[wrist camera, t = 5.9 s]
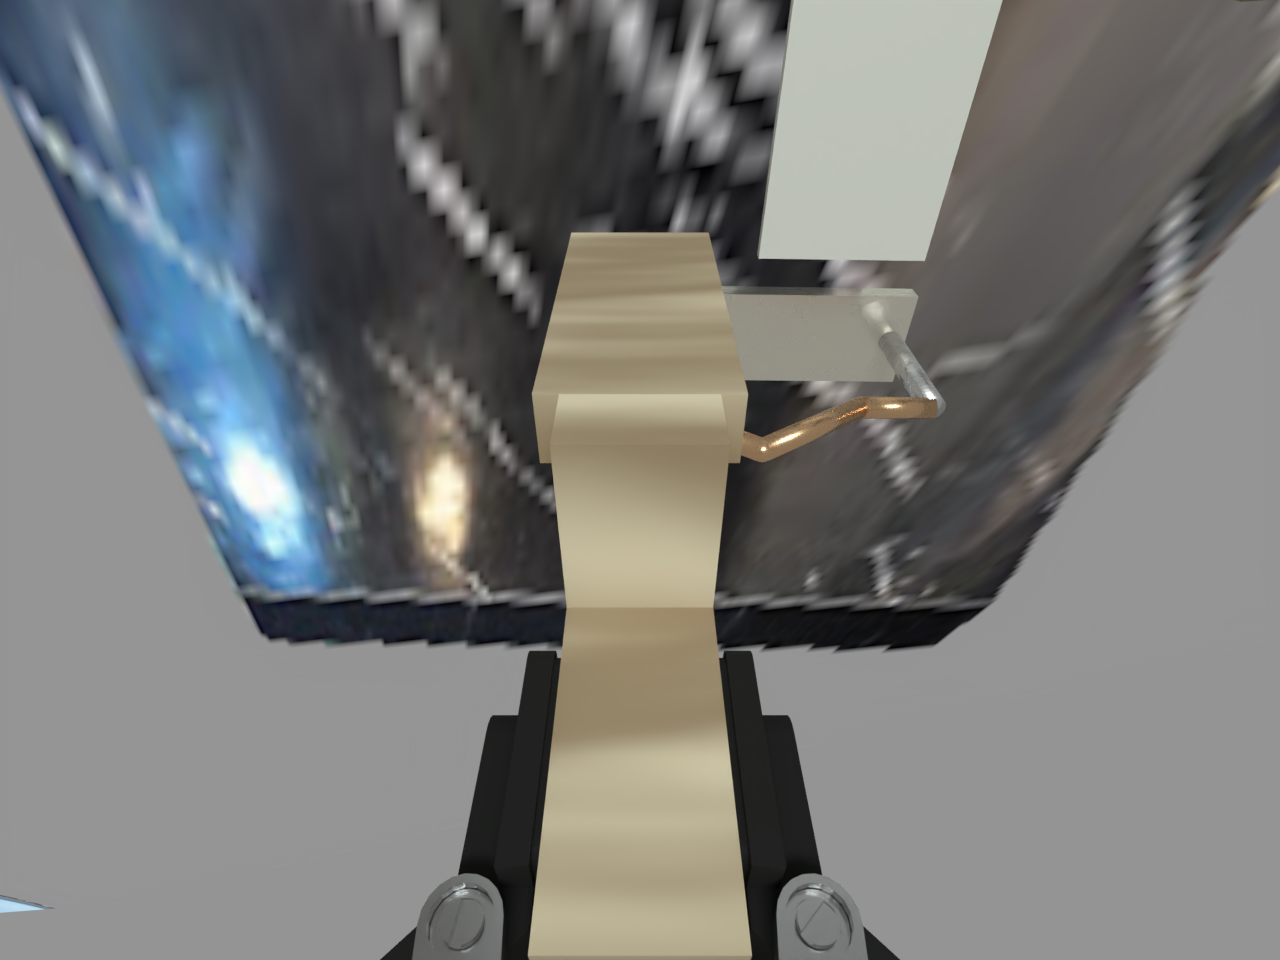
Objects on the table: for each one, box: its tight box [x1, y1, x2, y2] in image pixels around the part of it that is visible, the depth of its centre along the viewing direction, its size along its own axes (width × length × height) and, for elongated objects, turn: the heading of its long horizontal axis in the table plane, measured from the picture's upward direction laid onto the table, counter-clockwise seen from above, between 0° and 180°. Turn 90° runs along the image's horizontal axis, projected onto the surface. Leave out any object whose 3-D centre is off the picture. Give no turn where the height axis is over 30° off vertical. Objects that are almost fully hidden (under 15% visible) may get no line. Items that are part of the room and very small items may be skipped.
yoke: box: [528, 233, 752, 960], centre depth 16 cm, size 11×4×17 cm, turn 0°
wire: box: [722, 286, 946, 462], centre depth 38 cm, size 6×22×14 cm, turn 89°
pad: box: [757, 0, 1003, 261], centre depth 35 cm, size 14×10×1 cm
